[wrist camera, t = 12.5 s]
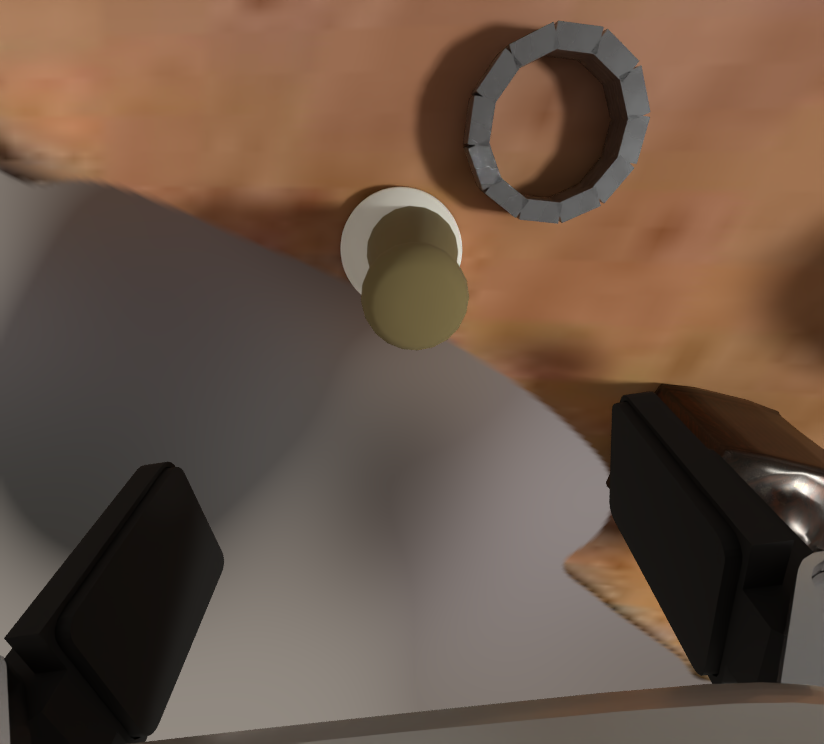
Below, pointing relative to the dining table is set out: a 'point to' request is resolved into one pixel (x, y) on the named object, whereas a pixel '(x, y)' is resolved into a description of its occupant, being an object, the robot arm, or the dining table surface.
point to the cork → (413, 279)
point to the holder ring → (623, 103)
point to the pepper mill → (759, 454)
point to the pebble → (371, 214)
